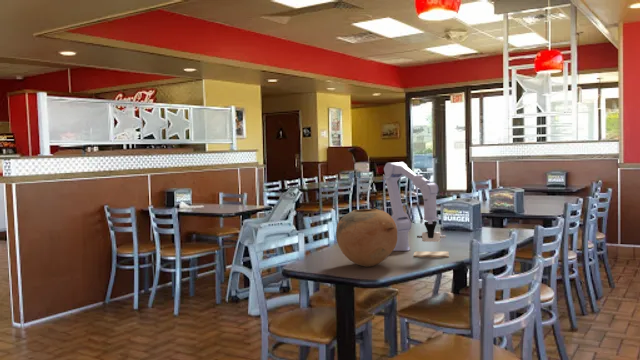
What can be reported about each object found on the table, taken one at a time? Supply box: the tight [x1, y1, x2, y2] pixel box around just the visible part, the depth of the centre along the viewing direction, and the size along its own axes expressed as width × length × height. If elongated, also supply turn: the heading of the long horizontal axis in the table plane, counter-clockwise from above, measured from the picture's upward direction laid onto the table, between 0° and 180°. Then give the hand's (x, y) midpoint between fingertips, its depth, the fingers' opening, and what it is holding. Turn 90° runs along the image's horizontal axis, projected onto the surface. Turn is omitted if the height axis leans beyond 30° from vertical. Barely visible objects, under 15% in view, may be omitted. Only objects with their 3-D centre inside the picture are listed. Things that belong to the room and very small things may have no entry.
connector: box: [416, 231, 447, 243], centre depth 264 cm, size 13×4×4 cm, turn 78°
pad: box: [413, 251, 450, 258], centre depth 265 cm, size 16×10×1 cm, turn 78°
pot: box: [335, 208, 397, 268], centre depth 245 cm, size 31×27×25 cm
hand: (430, 237), depth 264 cm, fingers closed on connector, 3 cm apart
